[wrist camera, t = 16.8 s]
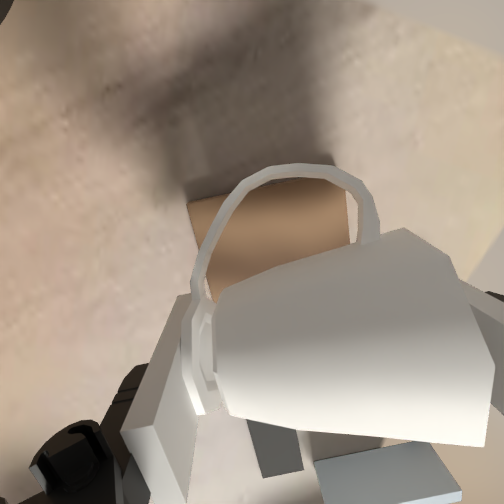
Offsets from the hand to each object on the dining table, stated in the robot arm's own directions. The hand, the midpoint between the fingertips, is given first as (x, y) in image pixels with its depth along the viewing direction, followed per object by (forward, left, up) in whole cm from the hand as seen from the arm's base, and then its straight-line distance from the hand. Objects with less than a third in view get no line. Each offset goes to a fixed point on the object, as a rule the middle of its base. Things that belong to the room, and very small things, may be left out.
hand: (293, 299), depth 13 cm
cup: (-1, -4, +2) cm, 5 cm away
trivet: (0, 0, -6) cm, 6 cm away
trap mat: (+13, -3, -6) cm, 14 cm away
